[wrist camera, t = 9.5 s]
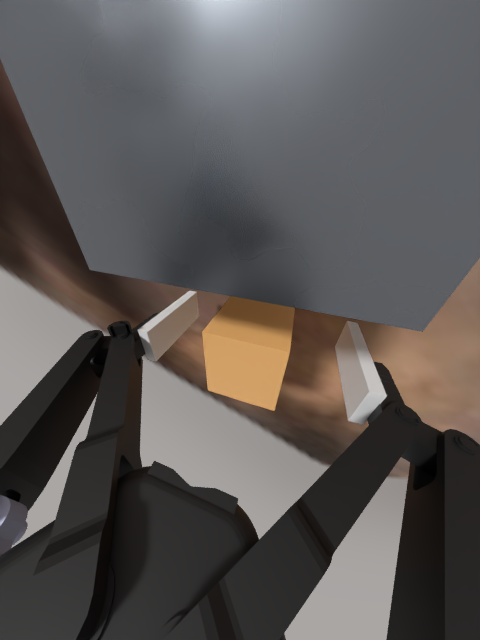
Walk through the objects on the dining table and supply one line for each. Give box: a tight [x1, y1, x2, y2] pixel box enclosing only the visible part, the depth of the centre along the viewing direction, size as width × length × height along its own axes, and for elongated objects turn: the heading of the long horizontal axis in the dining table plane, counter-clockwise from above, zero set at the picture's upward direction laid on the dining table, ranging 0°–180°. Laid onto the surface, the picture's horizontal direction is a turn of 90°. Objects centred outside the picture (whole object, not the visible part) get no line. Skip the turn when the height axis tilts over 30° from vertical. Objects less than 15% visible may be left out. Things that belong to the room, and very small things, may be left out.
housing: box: [0, 0, 480, 332], centre depth 9 cm, size 16×5×12 cm, turn 87°
